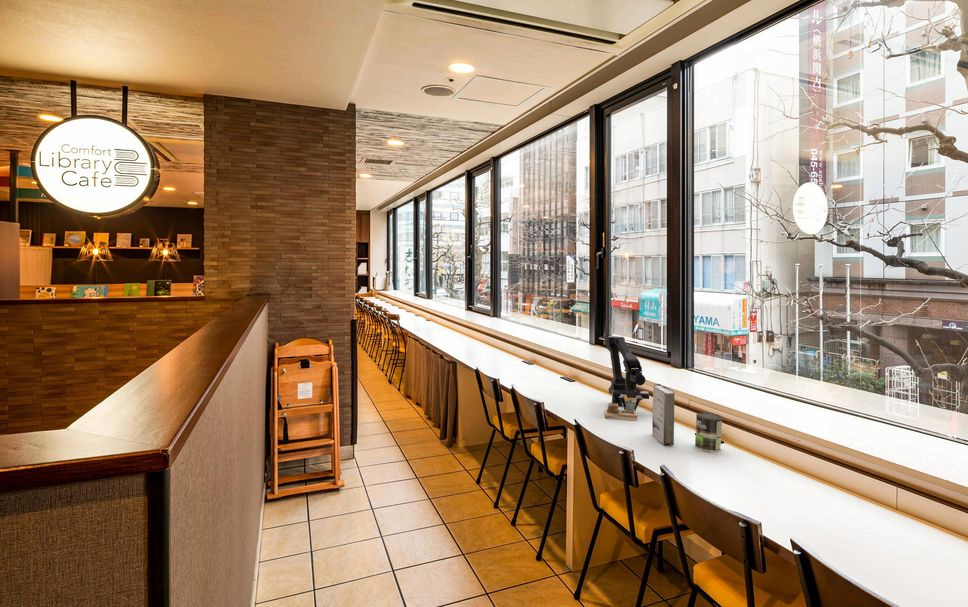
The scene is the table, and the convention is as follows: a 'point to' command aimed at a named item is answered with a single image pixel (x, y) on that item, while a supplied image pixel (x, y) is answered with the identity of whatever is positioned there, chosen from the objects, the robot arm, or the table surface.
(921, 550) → the table surface
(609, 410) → the walnut block
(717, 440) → the coffee can
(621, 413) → the caddy base
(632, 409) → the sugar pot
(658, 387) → the book
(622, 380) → the robot arm
